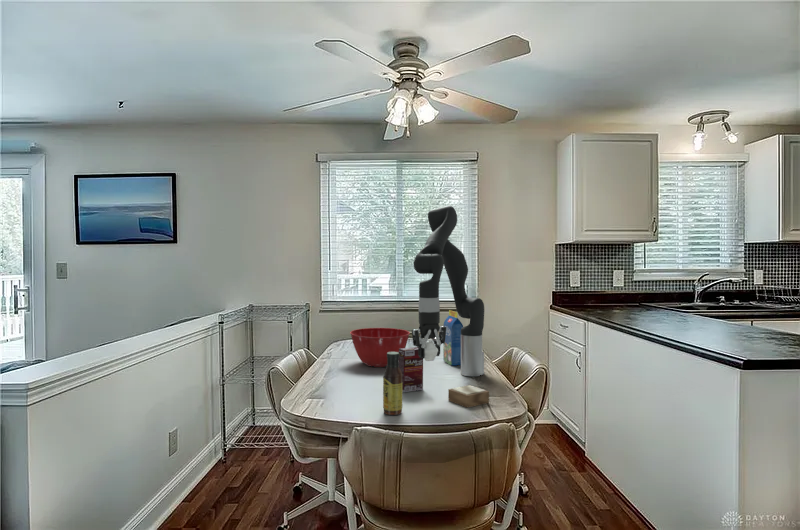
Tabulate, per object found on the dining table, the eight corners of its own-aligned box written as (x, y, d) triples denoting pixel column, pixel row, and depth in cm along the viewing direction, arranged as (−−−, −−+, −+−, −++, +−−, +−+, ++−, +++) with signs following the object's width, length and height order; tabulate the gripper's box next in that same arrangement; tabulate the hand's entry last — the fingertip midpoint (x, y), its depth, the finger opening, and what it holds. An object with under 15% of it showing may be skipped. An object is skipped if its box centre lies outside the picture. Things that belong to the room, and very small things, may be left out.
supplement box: (403, 392, 185) (403, 350, 185) (398, 389, 189) (397, 348, 189) (423, 390, 189) (423, 348, 189) (417, 387, 193) (417, 346, 193)
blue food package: (451, 366, 230) (451, 312, 230) (443, 360, 242) (443, 310, 242) (463, 365, 232) (463, 312, 231) (455, 360, 243) (455, 309, 243)
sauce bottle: (382, 410, 164) (382, 350, 164) (401, 409, 164) (401, 350, 164) (383, 416, 157) (383, 354, 157) (403, 416, 158) (403, 354, 158)
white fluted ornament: (419, 358, 179) (418, 339, 178) (435, 357, 180) (435, 338, 180) (423, 362, 173) (423, 342, 172) (440, 361, 174) (440, 341, 174)
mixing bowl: (420, 362, 240) (420, 330, 239) (388, 373, 216) (388, 338, 215) (373, 355, 255) (373, 326, 255) (337, 366, 231) (337, 333, 231)
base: (469, 396, 180) (469, 384, 180) (489, 402, 172) (489, 390, 172) (448, 400, 175) (448, 388, 175) (467, 407, 167) (467, 394, 167)
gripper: (438, 307, 183) (438, 353, 183) (406, 310, 175) (406, 357, 175) (451, 309, 177) (451, 356, 177) (418, 312, 169) (419, 361, 169)
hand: (429, 356), depth 176 cm, fingers closed on white fluted ornament, 6 cm apart
